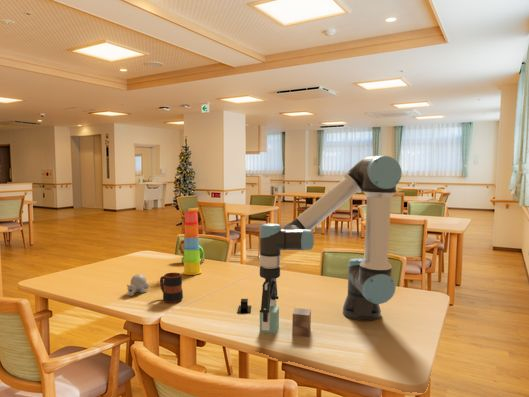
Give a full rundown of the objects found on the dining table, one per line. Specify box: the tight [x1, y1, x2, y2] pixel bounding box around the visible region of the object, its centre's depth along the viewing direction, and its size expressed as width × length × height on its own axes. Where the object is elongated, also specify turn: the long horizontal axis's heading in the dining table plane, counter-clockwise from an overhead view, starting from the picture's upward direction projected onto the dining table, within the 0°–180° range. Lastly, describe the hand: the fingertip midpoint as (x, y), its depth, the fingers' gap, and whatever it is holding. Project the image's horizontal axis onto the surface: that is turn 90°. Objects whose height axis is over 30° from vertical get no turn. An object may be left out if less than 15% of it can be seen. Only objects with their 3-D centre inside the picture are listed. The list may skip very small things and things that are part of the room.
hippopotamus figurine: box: [126, 274, 150, 297], centre depth 187 cm, size 7×12×8 cm, turn 155°
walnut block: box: [291, 307, 312, 338], centre depth 145 cm, size 6×6×8 cm
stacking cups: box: [182, 210, 202, 276], centre depth 222 cm, size 10×10×35 cm
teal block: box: [259, 305, 280, 335], centre depth 148 cm, size 6×6×8 cm
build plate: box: [236, 298, 252, 315], centre depth 168 cm, size 12×7×5 cm, turn 179°
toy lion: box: [178, 239, 206, 264], centre depth 247 cm, size 16×5×15 cm, turn 80°
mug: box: [159, 272, 184, 304], centre depth 179 cm, size 9×12×12 cm
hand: (269, 322), depth 148 cm, fingers open, 12 cm apart
